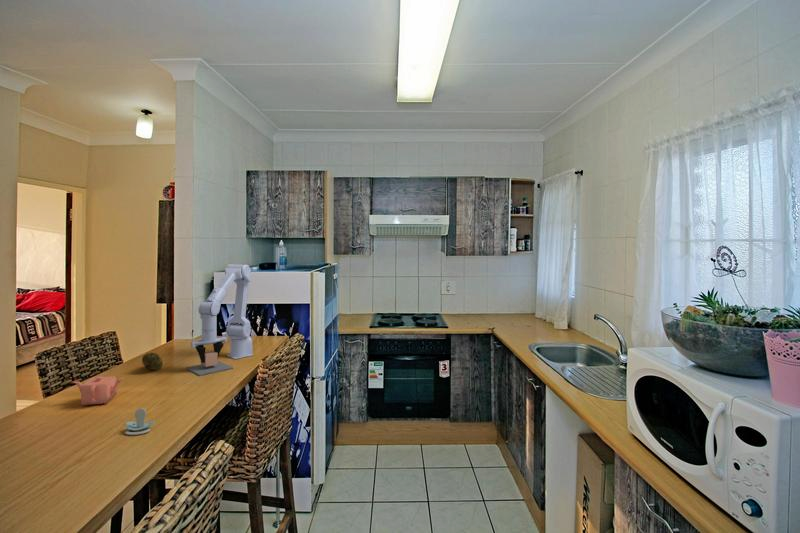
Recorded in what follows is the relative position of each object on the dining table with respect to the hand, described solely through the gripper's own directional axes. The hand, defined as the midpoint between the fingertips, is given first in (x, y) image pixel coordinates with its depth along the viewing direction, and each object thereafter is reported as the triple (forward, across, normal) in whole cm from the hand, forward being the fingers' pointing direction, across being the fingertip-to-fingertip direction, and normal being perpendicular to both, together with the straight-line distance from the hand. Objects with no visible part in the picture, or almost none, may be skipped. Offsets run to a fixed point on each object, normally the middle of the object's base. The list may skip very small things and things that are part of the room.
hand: (209, 360), depth 175 cm
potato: (+4, +17, -15) cm, 23 cm away
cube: (+2, 0, 0) cm, 2 cm away
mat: (+3, 0, 0) cm, 3 cm away
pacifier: (+4, +39, +44) cm, 59 cm away
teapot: (+4, +41, +10) cm, 42 cm away
